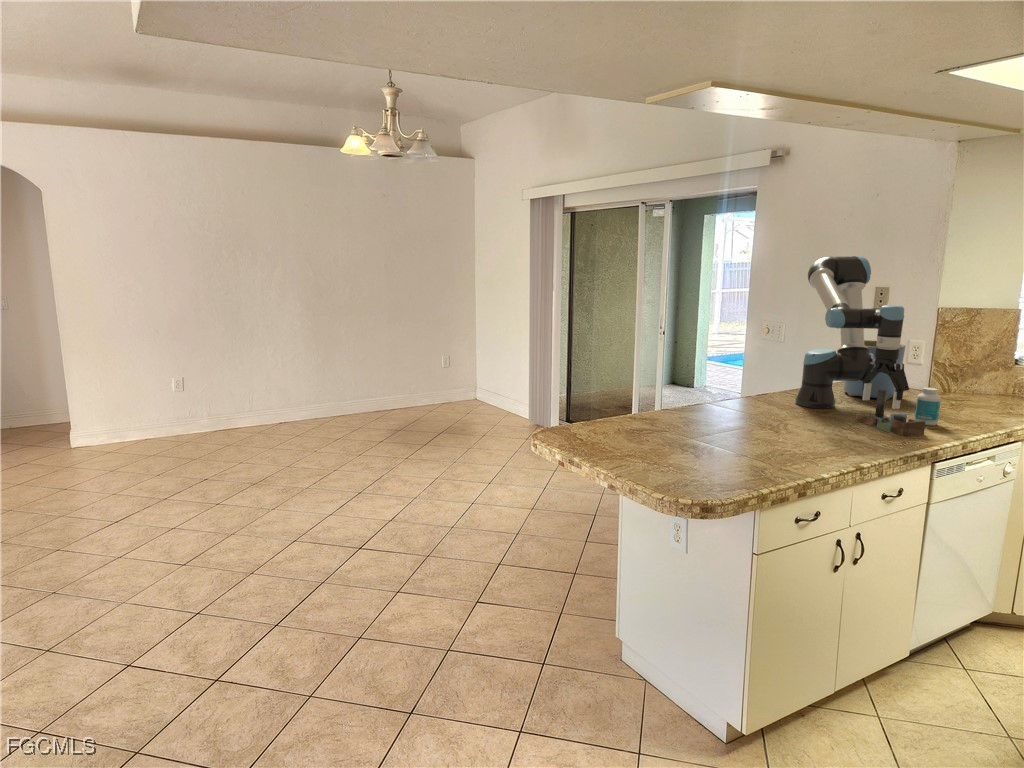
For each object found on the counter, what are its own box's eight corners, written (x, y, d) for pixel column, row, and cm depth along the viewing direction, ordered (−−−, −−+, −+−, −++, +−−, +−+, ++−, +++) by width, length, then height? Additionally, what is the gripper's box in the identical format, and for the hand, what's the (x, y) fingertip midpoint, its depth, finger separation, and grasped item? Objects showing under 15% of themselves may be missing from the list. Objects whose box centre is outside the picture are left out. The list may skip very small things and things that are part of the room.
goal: (891, 432, 224) (892, 418, 223) (909, 430, 226) (911, 417, 225) (905, 436, 219) (906, 422, 218) (923, 434, 221) (925, 421, 220)
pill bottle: (940, 426, 231) (946, 391, 228) (918, 425, 233) (923, 390, 230) (931, 421, 238) (936, 387, 236) (910, 420, 240) (915, 386, 237)
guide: (855, 419, 240) (856, 413, 240) (870, 418, 242) (871, 412, 242) (872, 425, 233) (873, 419, 232) (887, 424, 235) (888, 417, 234)
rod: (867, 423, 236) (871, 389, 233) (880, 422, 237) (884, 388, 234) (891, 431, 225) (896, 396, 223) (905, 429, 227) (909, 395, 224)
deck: (876, 428, 229) (877, 423, 229) (898, 426, 232) (899, 421, 231) (889, 432, 224) (889, 426, 224) (911, 430, 227) (912, 425, 226)
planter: (897, 403, 267) (904, 349, 262) (838, 396, 279) (844, 344, 274) (899, 393, 286) (906, 342, 281) (843, 387, 298) (849, 338, 293)
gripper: (852, 343, 239) (846, 397, 244) (908, 353, 216) (900, 412, 220) (868, 342, 241) (862, 396, 246) (925, 352, 218) (917, 411, 222)
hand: (880, 404), depth 233 cm, fingers open, 13 cm apart
